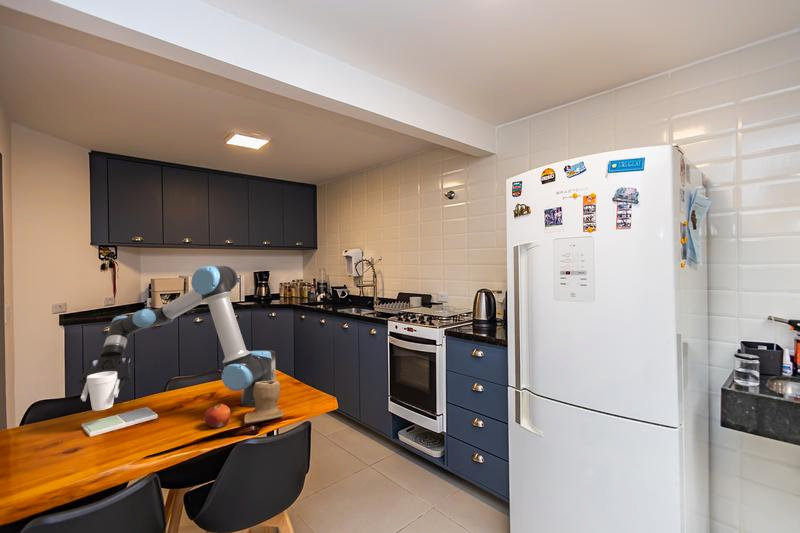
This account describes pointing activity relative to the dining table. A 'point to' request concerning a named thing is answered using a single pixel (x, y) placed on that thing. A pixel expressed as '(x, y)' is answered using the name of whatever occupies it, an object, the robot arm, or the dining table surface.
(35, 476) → the dining table surface
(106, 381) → the foam cup
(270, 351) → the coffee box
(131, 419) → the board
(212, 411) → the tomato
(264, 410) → the stone cup
